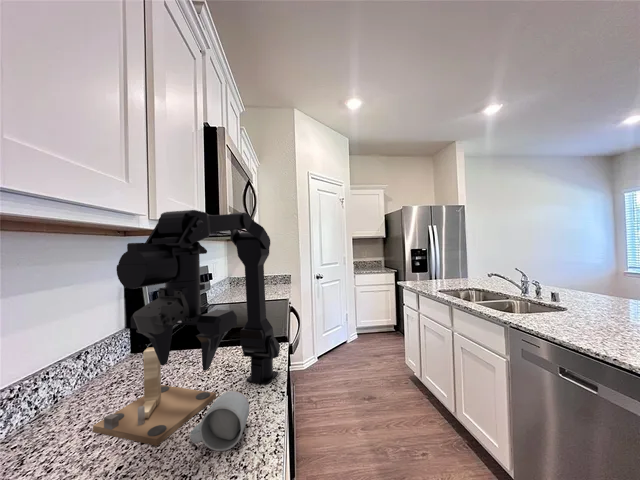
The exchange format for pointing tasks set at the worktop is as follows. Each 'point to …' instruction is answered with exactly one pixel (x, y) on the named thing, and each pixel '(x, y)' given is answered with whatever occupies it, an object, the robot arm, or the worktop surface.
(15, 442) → the worktop surface
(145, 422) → the stool seat
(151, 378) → the hinged leg
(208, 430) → the ceramic mug
